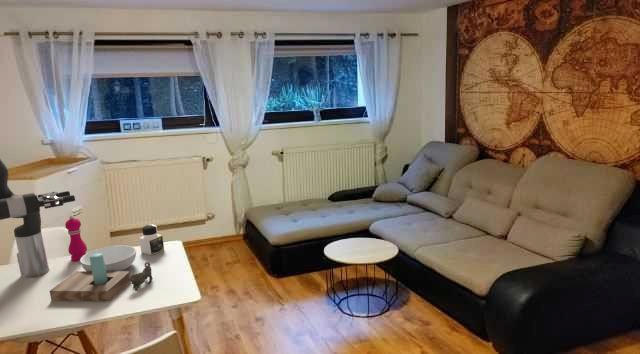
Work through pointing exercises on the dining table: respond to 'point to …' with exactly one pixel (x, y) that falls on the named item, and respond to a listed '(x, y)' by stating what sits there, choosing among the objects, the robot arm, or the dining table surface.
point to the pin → (98, 269)
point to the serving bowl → (112, 257)
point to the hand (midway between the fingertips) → (72, 195)
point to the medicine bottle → (151, 240)
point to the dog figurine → (141, 277)
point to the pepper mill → (75, 239)
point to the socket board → (90, 287)
